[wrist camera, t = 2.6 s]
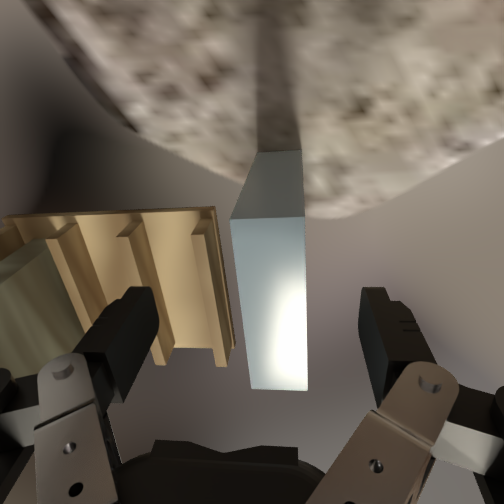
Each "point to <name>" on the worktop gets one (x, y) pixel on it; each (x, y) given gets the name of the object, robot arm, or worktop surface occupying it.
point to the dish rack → (110, 280)
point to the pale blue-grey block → (273, 270)
